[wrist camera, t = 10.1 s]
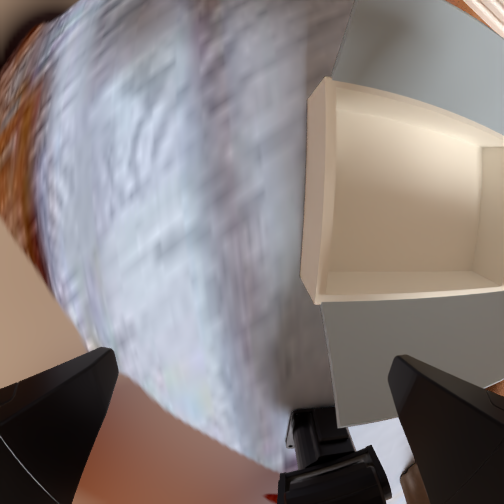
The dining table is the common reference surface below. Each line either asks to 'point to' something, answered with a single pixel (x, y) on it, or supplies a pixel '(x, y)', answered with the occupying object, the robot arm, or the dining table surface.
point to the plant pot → (414, 487)
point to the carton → (399, 199)
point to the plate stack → (490, 13)
